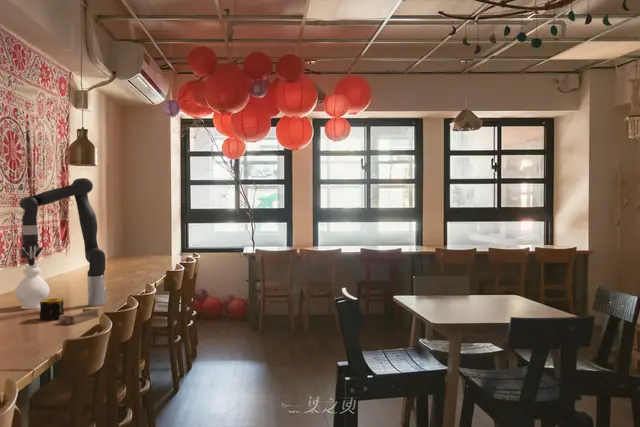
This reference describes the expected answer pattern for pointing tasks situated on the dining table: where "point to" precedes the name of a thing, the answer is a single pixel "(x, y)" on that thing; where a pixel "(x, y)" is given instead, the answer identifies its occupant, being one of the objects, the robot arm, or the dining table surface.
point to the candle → (51, 308)
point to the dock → (79, 316)
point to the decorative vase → (32, 288)
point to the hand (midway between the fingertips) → (31, 265)
